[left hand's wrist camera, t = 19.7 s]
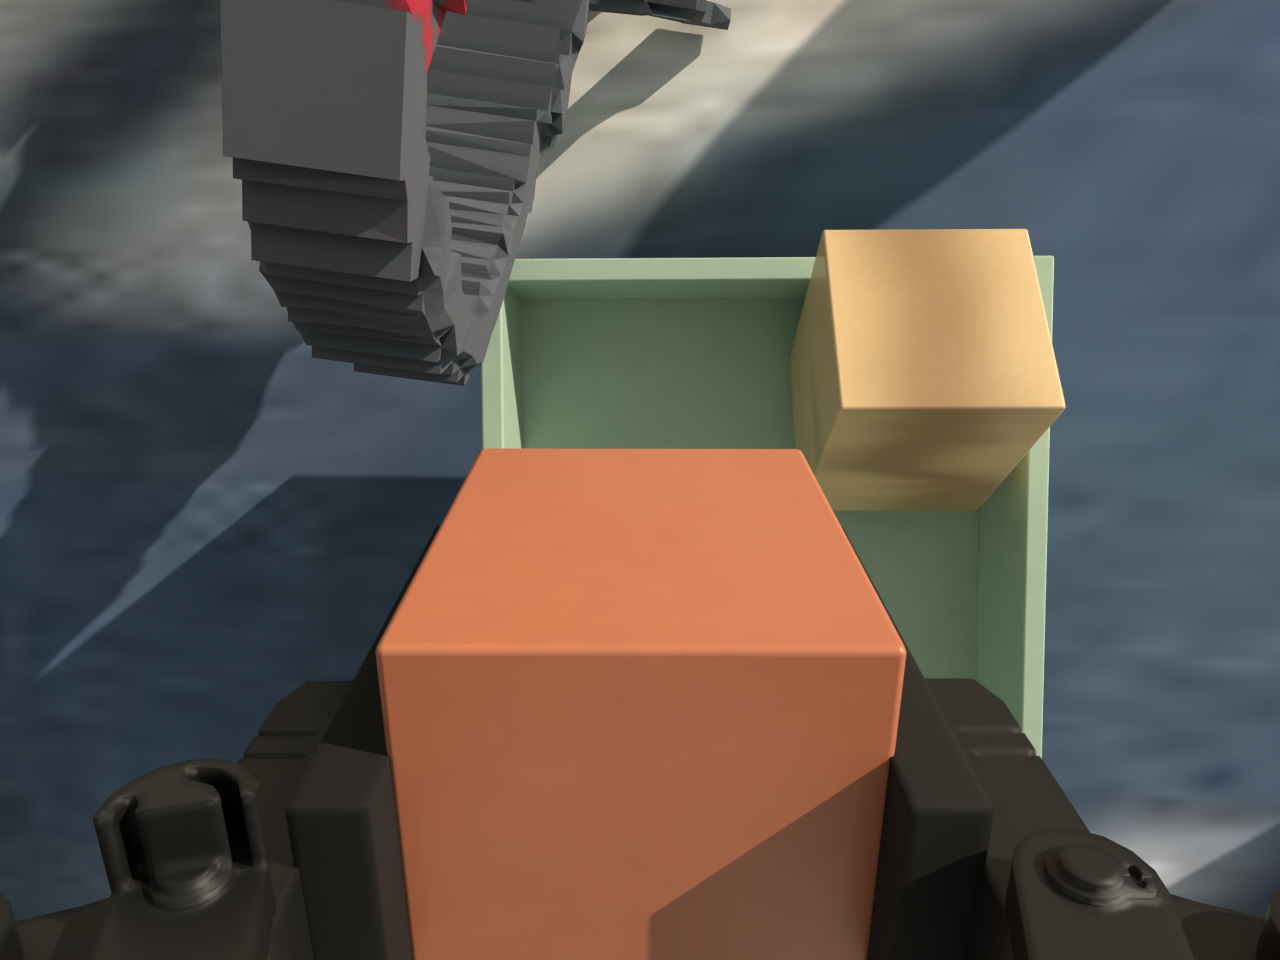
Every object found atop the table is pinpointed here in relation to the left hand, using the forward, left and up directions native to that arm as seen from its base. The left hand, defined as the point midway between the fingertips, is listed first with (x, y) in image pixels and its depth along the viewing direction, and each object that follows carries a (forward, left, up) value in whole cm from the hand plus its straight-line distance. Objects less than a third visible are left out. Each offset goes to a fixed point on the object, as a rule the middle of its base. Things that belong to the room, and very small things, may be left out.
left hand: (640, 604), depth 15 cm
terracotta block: (0, 0, 0) cm, 0 cm away
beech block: (-7, +1, -12) cm, 14 cm away
